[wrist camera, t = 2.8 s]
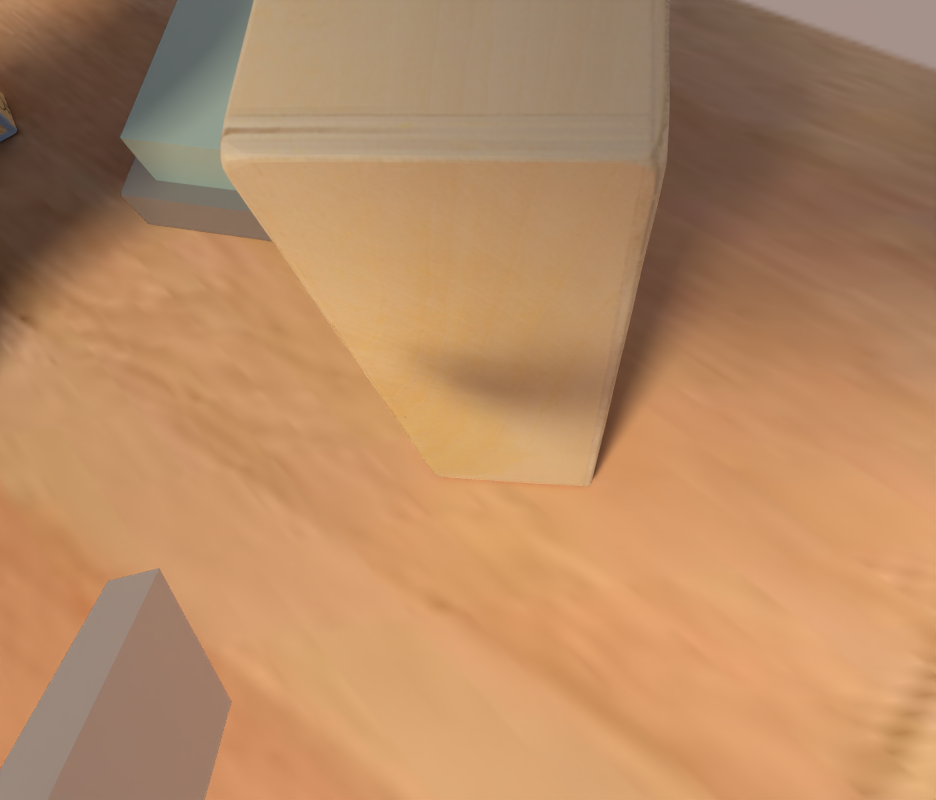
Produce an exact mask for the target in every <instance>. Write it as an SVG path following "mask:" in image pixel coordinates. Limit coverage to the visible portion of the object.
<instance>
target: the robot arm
mask: <svg viewBox="0 0 936 800" xmlns="http://www.w3.org/2000/svg"><path fill="white" fill-rule="evenodd" d="M230 705H231V700H230V698H229V696H228V694H227V693H226V691H225V689H224V687H223V685H222V683H221V681H220V680H219V678H218V676H217V674H216V672H215V670H214V669H213V667H212V665H211V663H210V661H209V659H208V657H207V656H206V654H205V652H204V650H203V648H202V646H201V644H200V643H199V641H198V639H197V637H196V635H195V633H194V632H193V630H192V628H191V626H190V624H189V622H188V620H187V619H186V617H185V615H184V613H183V611H182V609H181V608H180V606H179V604H178V602H177V600H176V598H175V596H174V595H173V593H172V591H171V589H170V587H169V585H168V583H167V582H166V580H165V578H164V576H163V574H162V572H161V571H160V569H155V570H151V571H147V572H143V573H139V574H135V575H130V576H126V577H122V578H118V579H114V580H110V581H108V582H107V584H106V585H105V587H104V589H103V591H102V592H101V594H100V596H99V598H98V599H97V601H96V603H95V605H94V606H93V608H92V610H91V612H90V613H89V615H88V617H87V619H86V620H85V622H84V624H83V626H82V627H81V629H80V631H79V633H78V634H77V636H76V638H75V640H74V641H73V643H72V645H71V647H70V648H69V650H68V652H67V654H66V655H65V657H64V659H63V661H62V662H61V664H60V666H59V668H58V669H57V671H56V673H55V675H54V676H53V678H52V680H51V682H50V683H49V685H48V687H47V689H46V690H45V692H44V694H43V696H42V697H41V699H40V701H39V703H38V704H37V706H36V708H35V710H34V711H33V713H32V715H31V717H30V718H29V720H28V722H27V724H26V725H25V727H24V729H23V731H22V732H21V734H20V736H19V738H18V739H17V741H16V743H15V745H14V746H13V748H12V750H11V752H10V753H9V755H8V757H7V759H6V760H5V762H4V764H3V766H2V767H1V769H0V800H205V797H206V793H207V790H208V786H209V782H210V779H211V775H212V771H213V768H214V764H215V760H216V756H217V753H218V749H219V745H220V742H221V738H222V734H223V731H224V727H225V723H226V720H227V716H228V712H229V709H230Z"/></svg>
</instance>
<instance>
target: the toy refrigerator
mask: <svg viewBox="0 0 936 800" xmlns="http://www.w3.org/2000/svg"><path fill="white" fill-rule="evenodd" d="M669 116H670V33H669V0H254V1H253V5H252V9H251V13H250V17H249V21H248V25H247V29H246V33H245V37H244V41H243V45H242V49H241V53H240V57H239V61H238V65H237V69H236V73H235V77H234V81H233V85H232V89H231V93H230V97H229V102H228V106H227V110H226V114H225V118H224V124H223V129H222V135H221V140H220V157H221V163H222V167H223V170H224V171H225V173H226V175H227V176H228V178H229V180H230V182H231V183H232V184H233V186H234V187H235V189H236V190H237V192H238V193H239V194H240V196H241V197H242V199H243V200H244V202H245V203H246V205H247V206H248V207H249V209H250V210H251V212H252V213H253V215H254V216H255V217H256V219H257V220H258V222H259V223H260V225H261V226H262V227H263V229H264V230H265V232H266V233H267V234H268V236H269V237H270V239H271V240H272V241H273V243H274V244H275V245H276V247H277V248H278V249H279V251H280V252H281V254H282V255H283V257H284V258H285V260H286V261H287V263H288V264H289V265H290V267H291V268H292V270H293V271H294V273H295V274H296V275H297V277H298V278H299V280H300V281H301V283H302V284H303V286H304V287H305V289H306V290H307V292H308V293H309V294H310V296H311V297H312V299H313V300H314V302H315V303H316V305H317V306H318V307H319V309H320V310H321V312H322V313H323V315H324V316H325V318H326V319H327V320H328V322H329V323H330V325H331V326H332V328H333V329H334V331H335V332H336V333H337V335H338V336H339V338H340V339H341V341H342V342H343V343H344V345H345V346H346V347H347V349H348V350H349V352H350V353H351V354H352V356H353V357H354V359H355V360H356V361H357V363H358V364H359V365H360V367H361V368H362V370H363V372H364V373H365V374H366V376H367V377H368V379H369V380H370V381H371V383H372V384H373V386H374V387H375V388H376V390H377V391H378V393H379V394H380V396H381V397H382V398H383V400H384V401H385V403H386V404H387V405H388V407H389V408H390V409H391V411H392V412H393V414H394V415H395V417H396V418H397V420H398V421H399V423H400V424H401V426H402V427H403V428H404V430H405V432H406V433H407V434H408V436H409V437H410V439H411V440H412V442H413V443H414V445H415V446H416V448H417V449H418V450H419V452H420V453H421V455H422V456H423V458H424V460H425V461H426V462H427V464H428V466H429V467H430V468H431V470H432V471H433V473H434V474H436V475H438V476H443V477H453V478H464V479H476V480H492V481H508V482H523V483H538V484H554V485H570V486H589V485H590V484H591V483H592V479H593V475H594V471H595V466H596V462H597V458H598V454H599V450H600V446H601V442H602V437H603V433H604V429H605V425H606V421H607V417H608V413H609V408H610V404H611V400H612V395H613V391H614V386H615V382H616V378H617V374H618V370H619V365H620V361H621V357H622V353H623V349H624V345H625V341H626V336H627V332H628V328H629V324H630V319H631V315H632V311H633V306H634V302H635V298H636V293H637V289H638V285H639V281H640V276H641V272H642V268H643V264H644V259H645V255H646V251H647V247H648V243H649V239H650V235H651V231H652V227H653V223H654V219H655V215H656V211H657V207H658V203H659V198H660V193H661V189H662V184H663V179H664V174H665V170H666V165H667V153H668V136H669Z"/></svg>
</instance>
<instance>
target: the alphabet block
mask: <svg viewBox="0 0 936 800" xmlns="http://www.w3.org/2000/svg"><path fill="white" fill-rule="evenodd" d="M16 132H17V128H16V125H15V123H14V120H13V118H12V115H11V112H10V110H9V108H8V105H7V102H6V100H5V97H4V95H3V93H2V92H1V91H0V142H1V141H3V140H5V139H6V138H8V137H10V136H12V135H14V134H15V133H16Z"/></svg>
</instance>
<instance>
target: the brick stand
mask: <svg viewBox="0 0 936 800" xmlns="http://www.w3.org/2000/svg"><path fill="white" fill-rule="evenodd" d="M253 1H254V0H177V3H176V5H175V7H174V10H173V12H172V14H171V17H170V19H169V22H168V24H167V26H166V29H165V31H164V34H163V36H162V38H161V41H160V43H159V45H158V48H157V50H156V53H155V55H154V57H153V60H152V62H151V65H150V67H149V69H148V72H147V74H146V76H145V79H144V81H143V84H142V86H141V88H140V91H139V93H138V96H137V98H136V100H135V103H134V105H133V107H132V110H131V112H130V115H129V117H128V119H127V122H126V124H125V127H124V129H123V131H122V134H121V136H120V139H121V140H122V141H123V142H124V143H125V145H126V146H127V147H128V148H129V149H130V150H131V152H132V153H133V154H134V155H135V156H136V157H135V159H134V161H133V164H132V166H131V169H130V171H129V174H128V176H127V179H126V181H125V183H124V186H123V188H122V191H121V193H120V195H121V196H122V197H123V198H124V199H125V200H126V201H127V203H128V204H129V205H130V206H131V207H132V208H133V209H134V210H135V211H136V212H137V213H138V214H139V215H140V216H141V217H142V218H143V219H144V220H145V221H146V222H147V223H148V224H152V225H159V226H167V227H174V228H181V229H188V230H195V231H202V232H210V233H217V234H224V235H231V236H238V237H245V238H253V239H260V240H267V241H272V240H271V239H270V237H269V236H268V234H267V233H266V232H265V230H264V229H263V227H262V226H261V225H260V223H259V222H258V220H257V219H256V217H255V216H254V215H253V213H252V212H251V210H250V209H249V207H248V206H247V205H246V203H245V202H244V200H243V199H242V197H241V196H240V194H239V193H238V192H237V190H236V189H235V187H234V186H233V184H232V183H231V182H230V180H229V178H228V176H227V175H226V173H225V171H224V170H223V167H222V163H221V157H220V140H221V135H222V129H223V124H224V118H225V114H226V110H227V106H228V102H229V97H230V93H231V89H232V85H233V81H234V77H235V73H236V69H237V65H238V61H239V57H240V53H241V49H242V45H243V41H244V37H245V33H246V29H247V25H248V21H249V17H250V13H251V9H252V5H253Z"/></svg>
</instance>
